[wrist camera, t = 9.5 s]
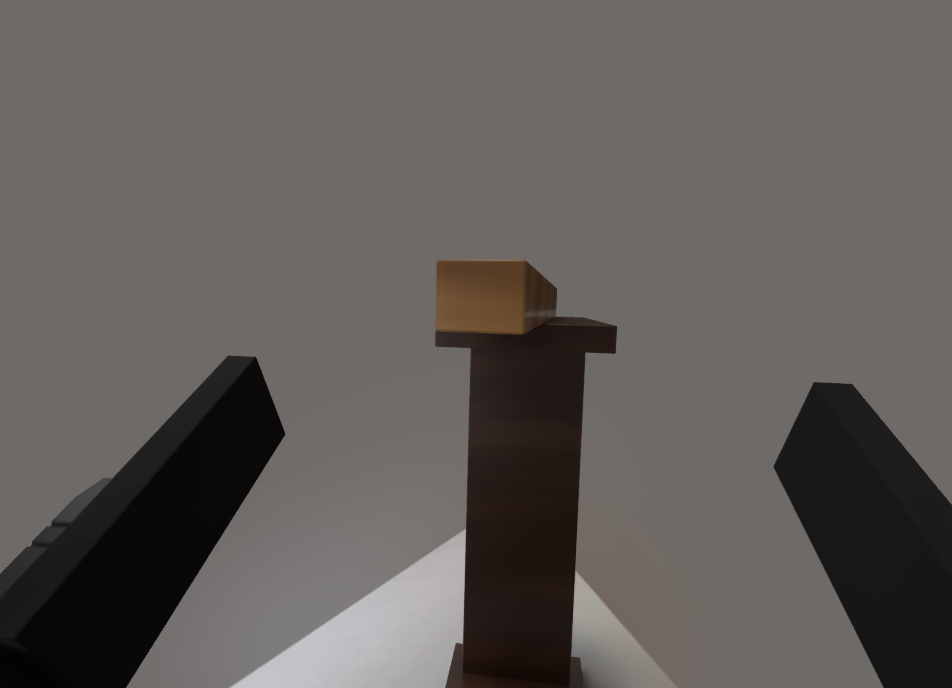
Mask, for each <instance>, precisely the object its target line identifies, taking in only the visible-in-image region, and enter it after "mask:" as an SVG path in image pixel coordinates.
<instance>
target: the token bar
mask: <svg viewBox="0 0 952 688" xmlns="http://www.w3.org/2000/svg"><path fill="white" fill-rule="evenodd" d="M436 273H437V275H436V323H435V328H436V331H438V332H463V333H488V334H513V335H522V334H524V333H526V332H528V331H530V330H532V329H534V328H536V327H538V326H540V325H542V324H543V323H545V322H547V321H549V320H551V319H553V318H555V317H556V302H557V288H555V287H554V286H553V285H552V284H551V283H550V282H549V281H548V280H547V279H546V278H545V277H543V276H542V275H541V274H540V273H539V272H538V271H537V270H536V269H535V268H534V267H532V266H531V265H530V264H529V263H528V262H527V261H525V260H480V259H479V260H478V259H471V260H470V259H439V260H438V261H437V271H436Z"/></svg>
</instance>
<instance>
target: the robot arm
mask: <svg viewBox="0 0 952 688" xmlns="http://www.w3.org/2000/svg"><path fill="white" fill-rule="evenodd" d="M284 436H285V432H284V429H283V426H282V424H281V421H280V418H279V416H278V413H277V411H276V408H275V405H274V403H273V400H272V398H271V395H270V392H269V390H268V387H267V385H266V382H265V380H264V377H263V374H262V371H261V369H260V366H259V364H258V361H257V359H256V357H245V356H227V358H226V359H225V360H224V361H223V362H222V363H221V364H220V365H219V366H218V367H217V368H216V369H215V370H214V371H213V372H212V374H211V375H210V376H209V377H208V378H207V379H206V380H205V381H204V382H203V383H202V384H201V385H200V386H199V387H198V388H197V389H196V391H194V393H193V394H192V395H191V396H190V397H189V398H188V399H187V400H186V401H185V402H184V403H183V404H182V405H181V406H180V408H178V410H177V411H176V412H175V413H174V414H173V415H172V416H171V417H170V418H169V419H168V420H167V421H166V422H165V423H164V425H162V427H161V428H160V429H159V430H158V431H157V432H156V433H155V434H154V435H153V436H152V437H151V438H150V439H149V440H148V441H147V443H145V445H144V446H143V447H142V448H141V449H140V450H139V451H138V452H137V453H136V454H135V455H134V456H133V458H132V459H130V461H129V462H128V463H127V464H126V465H125V466H124V467H123V468H122V469H121V470H120V471H119V472H118V473H117V474H116V475H115V476H114V478H113V479H109V478H103V479H102V480H100V481H99V482H97V483H96V484H95V485H93V486H92V487H90V488H89V489H88V490H86V491H84V492H83V493H81V494H80V495H78V496H77V497H76V498H74V499H73V500H72V501H71V502H70V504H68V506H67V507H66V508H65V509H64V510H63V511H62V512H61V513H60V514H59V515H58V516H57V517H56V518H55V519H54V520H53V521H52V525H51V526H50V527H46V528H45V529H44V530H43V531H42V532H41V533H40V534H39V535H38V536H37V537H36V538H35V539H34V540H33V541H32V545H31V546H30V547H27V548H25V549H24V550H23V551H22V552H21V553H20V554H19V555H18V557H16V558H15V559H14V561H13V562H12V563H11V564H10V565H9V566H8V567H7V568H6V569H5V570H4V571H3V572H2V573H1V574H0V688H126V687H127V685H128V684H129V682H130V680H131V679H132V677H133V676H134V674H135V673H136V671H137V669H138V668H139V666H140V664H141V663H142V661H143V660H144V658H145V657H146V655H147V653H148V652H149V650H150V649H151V647H152V646H153V644H154V642H155V641H156V639H157V638H158V636H159V634H160V633H161V631H162V630H163V628H164V626H165V625H166V623H167V621H168V620H169V618H170V617H171V615H172V614H173V612H174V611H175V609H176V607H177V606H178V604H179V602H180V601H181V599H182V598H183V596H184V595H185V593H186V591H187V590H188V588H189V587H190V585H191V583H192V582H193V580H194V579H195V577H196V575H197V574H198V572H199V570H200V569H201V568H202V566H203V564H204V563H205V561H206V559H207V558H208V556H209V555H210V553H211V552H212V550H213V548H214V547H215V545H216V544H217V542H218V540H219V539H220V537H221V536H222V534H223V533H224V531H225V529H226V528H227V526H228V525H229V523H230V521H231V520H232V518H233V517H234V515H235V513H236V512H237V510H238V509H239V507H240V505H241V504H242V502H243V501H244V499H245V498H246V496H247V494H248V493H249V491H250V489H251V488H252V486H253V485H254V483H255V482H256V480H257V479H258V477H259V475H260V474H261V472H262V470H263V469H264V467H265V466H266V464H267V463H268V461H269V459H270V458H271V456H272V455H273V453H274V451H275V450H276V448H277V447H278V445H279V444H280V442H281V440H282V439H283V437H284ZM774 469H775V471H776V473H777V475H778V477H779V479H780V481H781V483H782V485H783V487H784V489H785V491H786V493H787V495H788V497H789V499H790V501H791V503H792V505H793V507H794V509H795V511H796V513H797V515H798V517H799V519H800V521H801V523H802V525H803V527H804V529H805V531H806V533H807V535H808V537H809V539H810V541H811V543H812V545H813V547H814V549H815V551H816V553H817V555H818V557H819V559H820V561H821V563H822V565H823V567H824V569H825V571H826V573H827V575H828V577H829V579H830V581H831V583H832V585H833V587H834V589H835V591H836V593H837V595H838V597H839V599H840V601H841V603H842V605H843V607H844V609H845V611H846V613H847V615H848V617H849V619H850V621H851V623H852V625H853V627H854V629H855V631H856V633H857V635H858V637H859V639H860V641H861V643H862V645H863V647H864V649H865V651H866V653H867V655H868V657H869V659H870V661H871V663H872V665H873V667H874V669H875V671H876V673H877V675H878V677H879V679H880V681H881V683H882V685H883V687H884V688H952V505H951V503H950V502H949V501H948V500H947V499H946V497H945V496H944V495H943V494H942V492H941V491H940V490H939V489H938V488H937V486H936V485H935V484H934V483H933V482H932V481H931V479H930V478H929V477H928V476H927V474H926V473H925V472H924V471H923V469H921V467H920V466H919V465H918V463H917V462H916V461H915V460H914V459H913V457H912V456H911V455H910V454H909V452H907V450H906V449H905V448H904V446H903V445H902V444H901V443H900V442H899V440H898V439H897V438H896V437H895V436H894V434H893V433H892V432H891V431H890V430H889V428H888V427H887V426H886V425H885V423H884V422H883V421H882V420H881V419H880V417H879V416H878V415H877V414H876V412H875V411H874V410H873V409H872V408H871V406H870V405H869V404H868V403H867V402H866V401H865V399H864V398H863V397H862V396H861V394H860V393H859V392H858V391H857V389H856V388H855V387H854V386H853V385H852V384H840V383H817V382H814V383H813V385H812V387H811V389H810V392H809V394H808V396H807V398H806V400H805V402H804V404H803V406H802V408H801V410H800V412H799V414H798V416H797V419H796V421H795V423H794V425H793V427H792V429H791V431H790V433H789V435H788V438H787V440H786V442H785V444H784V446H783V448H782V450H781V452H780V454H779V456H778V458H777V460H776V462H775V465H774Z"/></svg>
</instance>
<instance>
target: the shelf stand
mask: <svg viewBox="0 0 952 688" xmlns="http://www.w3.org/2000/svg"><path fill="white" fill-rule="evenodd" d="M616 335H617V326H614V325H610V324H606V323H602V322H598V321H595V320H591V319H587V318H580V317H578V318H577V317H576V318H575V317H555V318H553V319H551V320H549V321H547V322H545V323H543V324H542V325H540V326H538V327H536V328H534V329H532V330H530V331H528V332H526V333H524V334H522V335H513V334H488V333H463V332H438V331H436V335H435V336H436V338H435V341H436V342H435V346H436V347H458V348H459V347H460V348H471V362H470V399H469V439H468V476H467V514H466V553H465V591H464V629H463V644H460V643H456V645H455V649H454V653H453V658H452V662H451V666H450V670H449V675H448V679H447V683H446V687H445V688H583V680H582V672H581V664H580V658H578V657H571V647H572V625H573V604H574V583H575V562H576V560H575V559H576V539H577V519H578V497H579V477H580V456H581V435H582V414H583V393H584V372H585V352H589V353H613V354H614V353H616Z"/></svg>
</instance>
